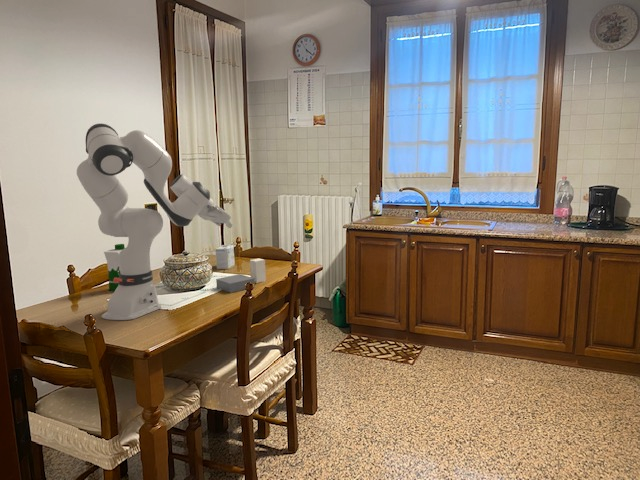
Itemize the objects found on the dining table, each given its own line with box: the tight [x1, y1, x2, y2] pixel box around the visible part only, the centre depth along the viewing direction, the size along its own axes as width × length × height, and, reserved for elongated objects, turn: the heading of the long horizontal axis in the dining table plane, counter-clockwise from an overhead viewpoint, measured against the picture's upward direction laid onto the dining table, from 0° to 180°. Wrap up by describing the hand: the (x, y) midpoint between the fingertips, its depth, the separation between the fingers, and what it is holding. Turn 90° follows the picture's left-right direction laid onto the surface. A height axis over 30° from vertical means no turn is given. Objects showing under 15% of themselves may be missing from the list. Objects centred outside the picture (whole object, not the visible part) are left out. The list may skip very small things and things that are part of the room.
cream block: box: [249, 258, 267, 284], centre depth 230 cm, size 5×5×10 cm
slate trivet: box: [215, 273, 256, 294], centre depth 220 cm, size 12×12×4 cm
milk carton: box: [103, 243, 126, 292], centre depth 224 cm, size 9×9×20 cm
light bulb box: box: [215, 244, 236, 270], centre depth 263 cm, size 11×7×11 cm, turn 172°
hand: (225, 225), depth 217 cm, fingers open, 8 cm apart
